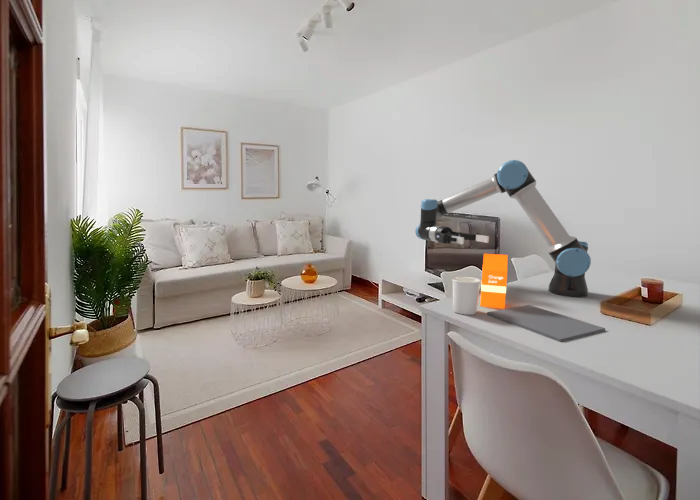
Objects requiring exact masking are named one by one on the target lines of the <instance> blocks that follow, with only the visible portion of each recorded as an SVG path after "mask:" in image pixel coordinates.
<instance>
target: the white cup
mask: <svg viewBox="0 0 700 500" xmlns="http://www.w3.org/2000/svg"><path fill="white" fill-rule="evenodd" d="M451 281H452V311H453V312H454V313H456V314H458V313H459V314H458V315H463V314H464V316H465V315H466V316H471V315H475V314H476V313H477V310H478V304H479V297H480V296H479V295H480V290H481V281H482V279H479V278H478V277H477V278H476V277H471V276H454V277H453V278H452V280H451Z"/></svg>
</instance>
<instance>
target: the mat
mask: <svg viewBox="0 0 700 500" xmlns="http://www.w3.org/2000/svg"><path fill="white" fill-rule="evenodd" d="M486 315H487V316H491V317H493V318H496V319H498V320H501V321H504V322H507V323H509V324H512V325H514V326H517V327H520V328H521V329H522V328H523V329H525V330H528V331H530V332H533V333H536V334H537V335H538V334H539V335H541V336H544V337H545V338H550V339H552V340H554V341H558V342H560V343H561V342H565V341H568V340H573V339H576V338H580V337H585V336H589V335H593V334H596V333H601V332H604V331H606V328H605V327H602V326H600V325H596V324H592V323H589V322H586V321H583V320H581V319H580V320H579V319H577V318H573V317H571V316H567V315H564V314H562V313H561V314H560V313H556V312H553V311H550V310H547V309H544V308H540V307H537V306H534V305H531V304H527V305H522V306H520V305H519V306H515V307H509V308H505V309H502V308H501V309H498V310H492V311H487V312H486Z"/></svg>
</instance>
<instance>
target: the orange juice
mask: <svg viewBox="0 0 700 500" xmlns="http://www.w3.org/2000/svg"><path fill="white" fill-rule="evenodd" d="M508 256H509V255H508V254H499V253H498V254H495V253H483V259H482V269H481V270H482V271H481V282H480V303H479V304H480V307H482V306H483V307H484V308H492V309H493V308H494V309H501V310H502V309H506V298H507V297H506V296H507V295H506V294H507V284H508V283H507V282H508V262H509V261H508V260H509V259H508Z"/></svg>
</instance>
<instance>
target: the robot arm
mask: <svg viewBox="0 0 700 500" xmlns="http://www.w3.org/2000/svg"><path fill="white" fill-rule="evenodd" d="M536 186H537V180H536V179H535V178H534V176H533V175H532V173H531V172H530V170H529V169H528V167H527V166H526V164H525V163H524V162H522V161H520V160H517V159H512V160H507V161H506V162H504V163H502V164H501V166H499V168H498V170H497V172H496V173H494V174H493V175H492V177H490V178H488V179H485V180H483V181H481V182H479V183H476V184H474V185H472V186H471V187H467V188H466V189H463V190H461V191H458V192H456V193H455V194H452V195H450V196H447V197H445V198H443V199H441V200H439V201H438V200H437V199H430V198H429V199H428V198H425V199H422V200H421V205H420V222H419V224H418V225H417V226H416V228H415V231H414V233H415V235H416V237H417V238H418V239H421V240H424V241H430V242H434V243H435V244H438V243H440V244H448V245H449V244H452V243H454V244H458V245H464V243H465V241H475V242H480V243H485V244H488V243H489V241H490V236H489V235H483V234H480V233H479V232H476V233H465V232H460V231H459V232H458V231H453V229H451V227H449V226H443V225H437V219H439V218H440V219H441V218H442V217H443V216H446V215H448V214H450V213H453V212H455V211H457V210H460V209H462V208H465V207H467V206H470V205H472V204H474V203H476V202H478V201H479V202H480V201H481V200H484V199H486V198H488V197H490V196H491V197H492V196H493V195H496V194H498V193H499V194H504V193H507V195H508V197H510V199H515V200H516V202H517V203H518V204H519V205H520V207H521V208H522V210H523V211H524V212H525V214H526V216H527V217H528V218H529V220H530V221H531V223H532V224H533V225H534V227H535V229H536V230H537V232H538V233H539V234H540V236H541V237H542V239H543V240H544V241H545V244H547V246H548V251H547V252H548V254H549V256H550V257H551V259H552V260H553V261H554V273H553V276H552V278H551V281H550V283H549V284H548V291H549V292H550V293H553V294H556V295H559V296H565V297H575V298H576V297H577V298H579V297H580V298H581V297H586V296H588V294H589V293H588V292H589V289H588V284H587V282H586V273H587V271H588V270H589V269H590V266H591V263H592V262H591V261H592V260H591V259H592V258H591V256H590V255H589V253H588V250H589V244H588V242H586V241H579V240H578V238H577V237H576V236H572V235H570V234H569V233H568V231H567V230H566V228H565V227H564V226H563V224H562V223H561V221H560V220H559V218H558V217H557V216H556V214H555V213H554V211H553V210H552V209H551V208H550V206H549V204H548V203H547V202H546V200H545V199H544V196H542V195H541V193H540V192H539V190H538V188H536Z"/></svg>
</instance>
